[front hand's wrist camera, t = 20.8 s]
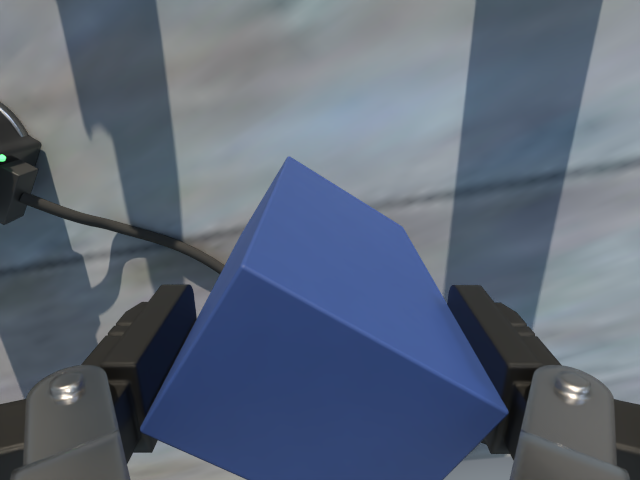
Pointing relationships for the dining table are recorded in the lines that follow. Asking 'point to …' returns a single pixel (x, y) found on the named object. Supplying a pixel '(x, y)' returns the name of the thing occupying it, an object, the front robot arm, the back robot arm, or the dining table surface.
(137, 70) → the dining table surface
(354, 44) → the dining table surface
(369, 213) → the block
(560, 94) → the dining table surface
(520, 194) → the dining table surface
